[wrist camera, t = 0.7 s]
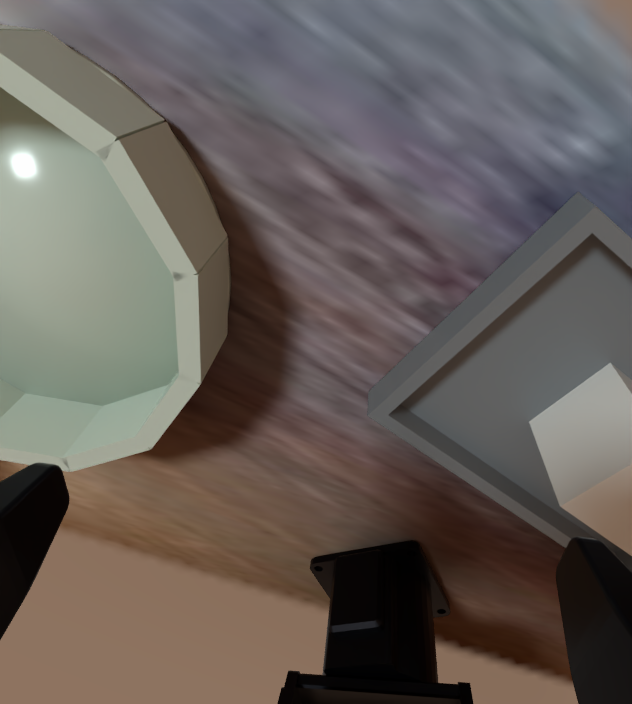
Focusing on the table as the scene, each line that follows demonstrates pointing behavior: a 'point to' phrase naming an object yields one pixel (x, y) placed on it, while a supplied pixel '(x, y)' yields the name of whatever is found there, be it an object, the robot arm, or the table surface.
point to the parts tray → (518, 364)
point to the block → (592, 453)
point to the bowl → (97, 262)
